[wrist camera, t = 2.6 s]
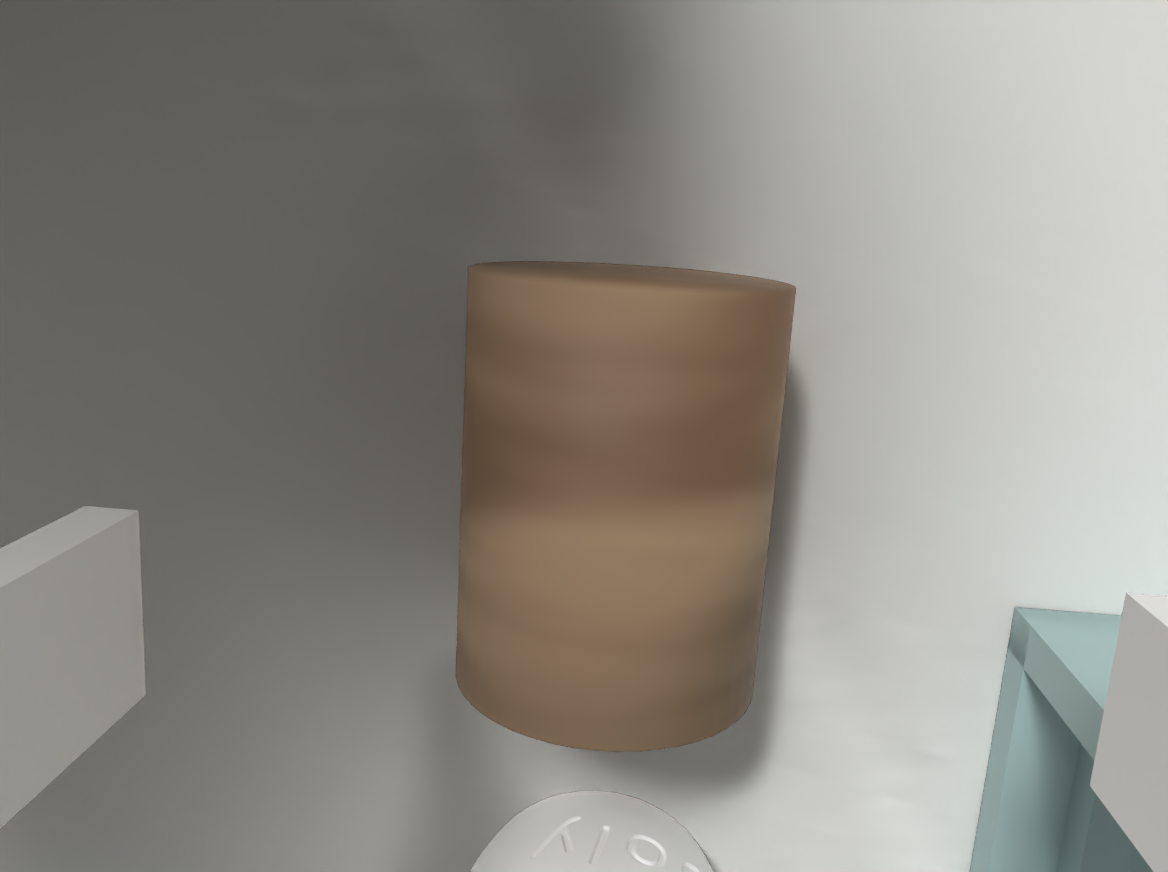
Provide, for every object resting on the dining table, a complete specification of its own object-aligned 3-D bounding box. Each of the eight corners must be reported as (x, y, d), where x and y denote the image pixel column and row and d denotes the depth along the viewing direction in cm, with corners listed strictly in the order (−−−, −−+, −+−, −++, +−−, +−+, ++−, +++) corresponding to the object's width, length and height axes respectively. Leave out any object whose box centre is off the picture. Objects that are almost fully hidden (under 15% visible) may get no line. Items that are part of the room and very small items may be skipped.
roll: (496, 256, 22) (435, 278, 16) (776, 274, 21) (819, 303, 16) (483, 602, 24) (424, 734, 18) (740, 623, 23) (767, 766, 17)
